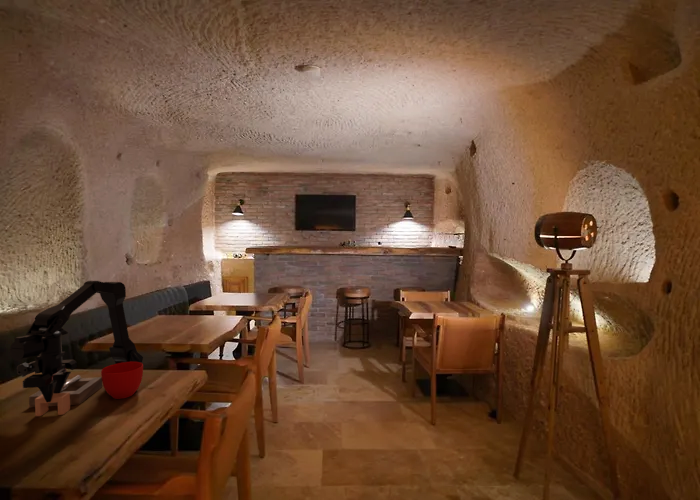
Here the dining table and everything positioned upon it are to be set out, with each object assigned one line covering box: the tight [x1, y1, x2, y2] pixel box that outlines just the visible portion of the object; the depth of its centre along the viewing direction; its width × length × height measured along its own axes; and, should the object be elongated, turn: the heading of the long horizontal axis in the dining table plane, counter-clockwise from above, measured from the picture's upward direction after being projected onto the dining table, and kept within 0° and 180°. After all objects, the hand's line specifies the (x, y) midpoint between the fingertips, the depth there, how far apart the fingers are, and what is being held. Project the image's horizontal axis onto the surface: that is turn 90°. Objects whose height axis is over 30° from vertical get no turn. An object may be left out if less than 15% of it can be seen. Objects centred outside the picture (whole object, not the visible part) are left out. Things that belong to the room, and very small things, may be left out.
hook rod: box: [61, 374, 82, 391], centre depth 141 cm, size 2×14×2 cm, turn 8°
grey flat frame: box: [28, 376, 103, 408], centre depth 141 cm, size 15×16×4 cm
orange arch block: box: [34, 393, 71, 417], centre depth 128 cm, size 8×4×6 cm, turn 98°
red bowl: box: [100, 362, 144, 400], centre depth 144 cm, size 13×17×10 cm
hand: (52, 399), depth 128 cm, fingers closed on orange arch block, 4 cm apart
